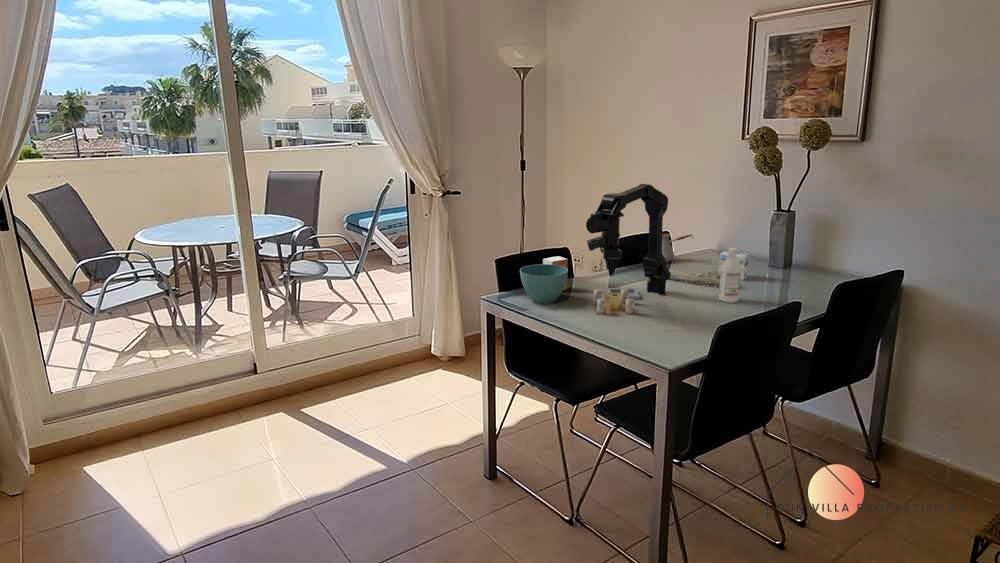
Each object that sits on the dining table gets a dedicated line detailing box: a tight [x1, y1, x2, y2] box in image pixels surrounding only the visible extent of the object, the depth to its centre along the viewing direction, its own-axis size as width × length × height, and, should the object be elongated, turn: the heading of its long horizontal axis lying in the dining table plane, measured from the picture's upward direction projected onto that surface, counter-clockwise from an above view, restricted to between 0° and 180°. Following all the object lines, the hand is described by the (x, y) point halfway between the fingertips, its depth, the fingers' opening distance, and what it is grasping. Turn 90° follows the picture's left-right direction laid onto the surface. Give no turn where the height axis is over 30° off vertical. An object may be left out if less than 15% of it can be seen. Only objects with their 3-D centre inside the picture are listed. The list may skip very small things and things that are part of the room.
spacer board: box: [591, 288, 637, 316], centre depth 225 cm, size 14×16×6 cm
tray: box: [606, 287, 641, 301], centre depth 241 cm, size 11×11×2 cm
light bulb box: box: [718, 251, 749, 280], centre depth 266 cm, size 11×7×11 cm, turn 58°
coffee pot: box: [662, 232, 694, 263], centre depth 293 cm, size 21×12×15 cm, turn 42°
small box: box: [542, 255, 569, 291], centre depth 251 cm, size 8×6×13 cm
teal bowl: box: [519, 263, 569, 304], centre depth 237 cm, size 18×18×12 cm
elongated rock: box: [668, 269, 721, 288], centre depth 262 cm, size 35×5×10 cm
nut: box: [604, 293, 623, 310], centre depth 225 cm, size 6×6×5 cm
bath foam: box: [718, 247, 741, 303], centre depth 233 cm, size 7×7×20 cm
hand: (609, 272), depth 226 cm, fingers open, 9 cm apart
